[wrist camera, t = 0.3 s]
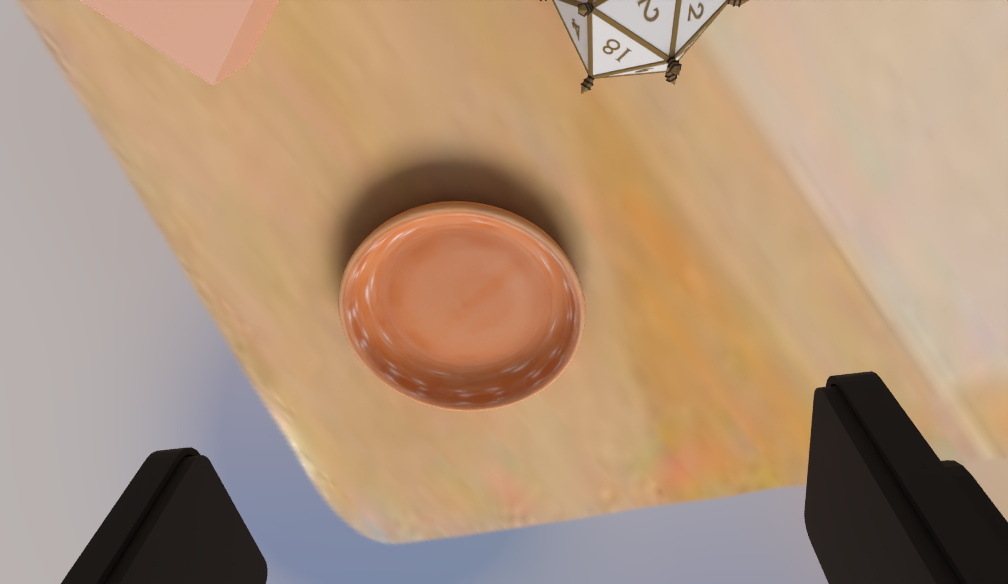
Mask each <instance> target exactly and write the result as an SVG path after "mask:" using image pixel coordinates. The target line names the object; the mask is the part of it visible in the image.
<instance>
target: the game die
mask: <svg viewBox="0 0 1008 584" xmlns="http://www.w3.org/2000/svg"><path fill="white" fill-rule="evenodd" d="M540 1H542V0H540ZM545 1H547V0H545ZM747 1H749V0H553V3H554V5H555V7H556V9H557V11H558V13H559V15H560V17H561V19H562V21H563V23H564V25H565V27H566V30H567V32H568V34H569V36H570V38H571V40H572V42H573V44H574V46H575V48H576V50H577V52H578V54H579V56H580V59H581V61H582V63H583V65H584V67H585V69H586V71H587V73H588V77H587V78H586V79H584V82H583V83H581V85H582V86H581V94H582V93H584V92H586V91H588V90H591V89H590V88H591V86H593V80H594V79H597V78H607V77H618V76H629V75H640V74H651V73H661V72H666V75H665V77H666V78H667V80H666V81H668V82H671V83H673V84H674V85H675V81H676V79H677V75H679V72H680V70H681V64H679V60H680V59H681V58H682V56H683V55H684V54H685V53H686V52H687V51H688V49H689V48H690V47H691V46H692V45H693V44H694V42H695V41H696V40H697V39H698V38H699V37H700V35H701V34H702V33H703V32H704V31H705V30H706V28H707V27H708V26H709V25H710V24H711V23H712V21H713V20H714V19H715V18H716V17H717V16H718V14H719V13H720V12H721V11H722V10H723V9H724V7H725V6H726V5H727V4H731V5H733V6H735V5H736V6H738V7H740V5H742V4H744V3H745V2H747Z"/></svg>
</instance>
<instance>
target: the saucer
mask: <svg viewBox="0 0 1008 584" xmlns="http://www.w3.org/2000/svg"><path fill="white" fill-rule="evenodd" d="M338 306H339V315H340V320H341V324H342V328H343V331H344V334H345V336H346V339H347V341H348V343H349V345H350V346H351V348H352V350H353V352H354V353H355V355H356V356H357V357H358V359H359V360H360V361H361V363H362V364H363V365H364V366H365V367H366V368H367V369H368V370H369V372H370V373H372V374H373V375H374V376H375V377H376V378H377V379H378V380H380V381H381V382H382V383H383V384H385V385H386V386H388V387H389V388H391V389H392V390H394V391H396V392H397V393H399V394H401V395H403V396H405V397H407V398H409V399H412V400H414V401H417V402H419V403H422V404H425V405H428V406H432V407H436V408H441V409H446V410H455V411H485V410H492V409H498V408H502V407H506V406H510V405H513V404H516V403H518V402H521V401H523V400H526V399H528V398H530V397H532V396H534V395H536V394H537V393H539V392H540V391H542V390H544V389H545V388H546V387H547V386H549V385H550V384H551V383H552V382H554V381H555V380H556V379H557V378H558V377H559V376H560V375H561V374H562V373H563V371H564V370H565V369H566V368H567V366H568V365H569V364H570V362H571V361H572V359H573V357H574V356H575V354H576V352H577V349H578V347H579V344H580V342H581V339H582V335H583V331H584V325H585V300H584V294H583V290H582V287H581V284H580V281H579V278H578V276H577V273H576V271H575V269H574V267H573V265H572V263H571V262H570V260H569V259H568V257H567V256H566V254H565V253H564V251H563V250H562V249H561V247H560V246H559V245H558V244H557V243H556V242H555V241H554V240H553V239H552V238H551V237H550V236H549V235H548V234H547V233H545V232H544V231H543V230H542V229H540V228H539V227H538V226H536V225H535V224H533V223H532V222H530V221H528V220H527V219H525V218H523V217H521V216H519V215H517V214H515V213H512V212H510V211H507V210H505V209H502V208H498V207H495V206H491V205H487V204H482V203H476V202H467V201H445V202H436V203H431V204H426V205H422V206H418V207H415V208H412V209H409V210H407V211H404V212H402V213H400V214H398V215H396V216H394V217H392V218H390V219H389V220H387V221H386V222H384V223H383V224H381V225H380V226H379V227H377V228H376V229H375V230H374V231H373V232H372V233H371V234H370V235H369V236H368V237H367V238H366V239H365V240H364V241H363V242H362V243H361V244H360V245H359V247H358V248H357V249H356V251H355V252H354V253H353V255H352V256H351V258H350V260H349V262H348V264H347V266H346V268H345V270H344V273H343V276H342V279H341V283H340V288H339V298H338Z"/></svg>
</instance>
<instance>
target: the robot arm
mask: <svg viewBox="0 0 1008 584" xmlns="http://www.w3.org/2000/svg"><path fill="white" fill-rule="evenodd" d="M804 517H805V524H806V529H807V533H808V536H809V539H810V541H811V544H812V546H813V548H814V551H815V553H816V555H817V558H818V560H819V562H820V564H821V567H822V569H823V571H824V574H825V576H826V578H827V581H828V583H829V584H1008V522H1007V521H1006V520H1005V518H1004V517H1003V515H1002V514H1001V513H1000V512H999V510H998V509H997V508H996V507H995V505H994V504H993V502H992V501H991V500H990V498H989V497H988V496H987V495H986V493H985V492H984V491H983V489H982V488H981V487H980V485H979V484H978V483H977V481H976V480H975V479H974V477H973V476H972V475H971V474H970V473H969V472H968V471H967V470H966V469H965V467H964V466H963V465H961V464H959V463H957V462H956V461H950V460H946V461H940V459H939V458H938V457H937V455H936V454H935V453H934V451H933V450H932V448H931V447H930V446H929V444H928V443H927V442H926V440H925V439H924V437H923V436H922V435H921V433H920V432H919V430H918V429H917V428H916V426H915V425H914V424H913V422H912V421H911V419H910V418H909V417H908V415H907V414H906V413H905V411H904V410H903V408H902V407H901V406H900V404H899V403H898V402H897V400H896V399H895V397H894V396H893V395H892V393H891V392H890V391H889V389H888V388H887V386H886V385H885V384H884V382H883V381H882V379H881V378H880V377H879V376H878V375H877V374H876V373H874V372H872V371H871V372H862V373H853V374H844V375H835V376H830V377H829V378H828V380H827V383H826V387H821V388H816V390H815V393H814V401H813V414H812V426H811V438H810V450H809V463H808V475H807V487H806V499H805V513H804ZM266 580H267V564H266V561H265V559H264V557H263V555H262V554H261V552H260V550H259V548H258V546H257V545H256V543H255V541H254V539H253V537H252V536H251V534H250V532H249V530H248V528H247V527H246V525H245V523H244V522H243V520H242V518H241V516H240V514H239V512H238V511H237V509H236V507H235V505H234V503H233V502H232V500H231V498H230V496H229V494H228V493H227V491H226V489H225V487H224V485H223V484H222V482H221V480H220V478H219V477H218V475H217V473H216V471H215V469H214V467H213V466H212V464H211V462H210V460H209V459H208V458H207V457H206V456H204V455H200V454H199V452H198V451H197V450H195V449H193V448H179V449H170V450H161V451H156V452H154V453H151V454H150V455H149V457H148V458H147V459H146V460H145V462H144V463H143V465H142V466H141V468H140V469H139V470H138V472H137V473H136V475H135V476H134V478H133V479H132V481H131V482H130V484H129V485H128V487H127V488H126V490H125V491H124V493H123V494H122V495H121V497H120V498H119V500H118V501H117V503H116V504H115V505H114V507H113V508H112V510H111V511H110V513H109V514H108V516H107V517H106V519H105V520H104V521H103V523H102V525H101V526H100V527H99V529H98V531H97V532H96V533H95V535H94V536H93V538H92V539H91V540H90V542H89V543H88V545H87V546H86V548H85V549H84V551H83V552H82V554H81V555H80V556H79V558H78V559H77V561H76V562H75V564H74V565H73V567H72V568H71V570H70V571H69V572H68V574H67V575H66V577H65V579H64V580H63V581H62V583H61V584H266Z"/></svg>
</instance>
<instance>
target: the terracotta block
mask: <svg viewBox="0 0 1008 584" xmlns="http://www.w3.org/2000/svg"><path fill="white" fill-rule="evenodd" d="M80 1H82V2H83V3H85V4H86V5H88V6H90V7H91V8H93V9H94V10H96V11H97V12H99V13H100V14H102V15H103V16H105V17H107V18H108V19H110V20H111V21H113V22H114V23H116V24H117V25H119V26H121V27H122V28H124V29H125V30H127V31H128V32H130V33H131V34H133V35H134V36H136V37H138V38H139V39H141V40H142V41H144V42H145V43H147V44H148V45H150V46H152V47H153V48H155V49H156V50H158V51H159V52H161V53H162V54H164V55H165V56H167V57H169V58H170V59H172V60H173V61H175V62H176V63H178V64H179V65H181V66H183V67H184V68H186V69H187V70H189V71H190V72H192V73H193V74H195V75H196V76H198V77H200V78H201V79H203V80H204V81H206V82H207V83H209V84H210V85H212V86H213V85H215V84H216V83H218V82H220V81H221V80H223V79H224V78H226V77H228V76H229V75H231V74H233V73H234V72H236V71H237V70H239V69H241V68H242V67H244V66H245V65H247V64H248V63H249V61H250V59H251V57H252V55H253V53H254V51H255V49H256V47H257V45H258V43H259V41H260V39H261V37H262V35H263V33H264V31H265V29H266V27H267V25H268V23H269V21H270V19H271V17H272V15H273V13H274V11H275V9H276V7H277V5H278V3H279V1H280V0H80Z"/></svg>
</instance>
